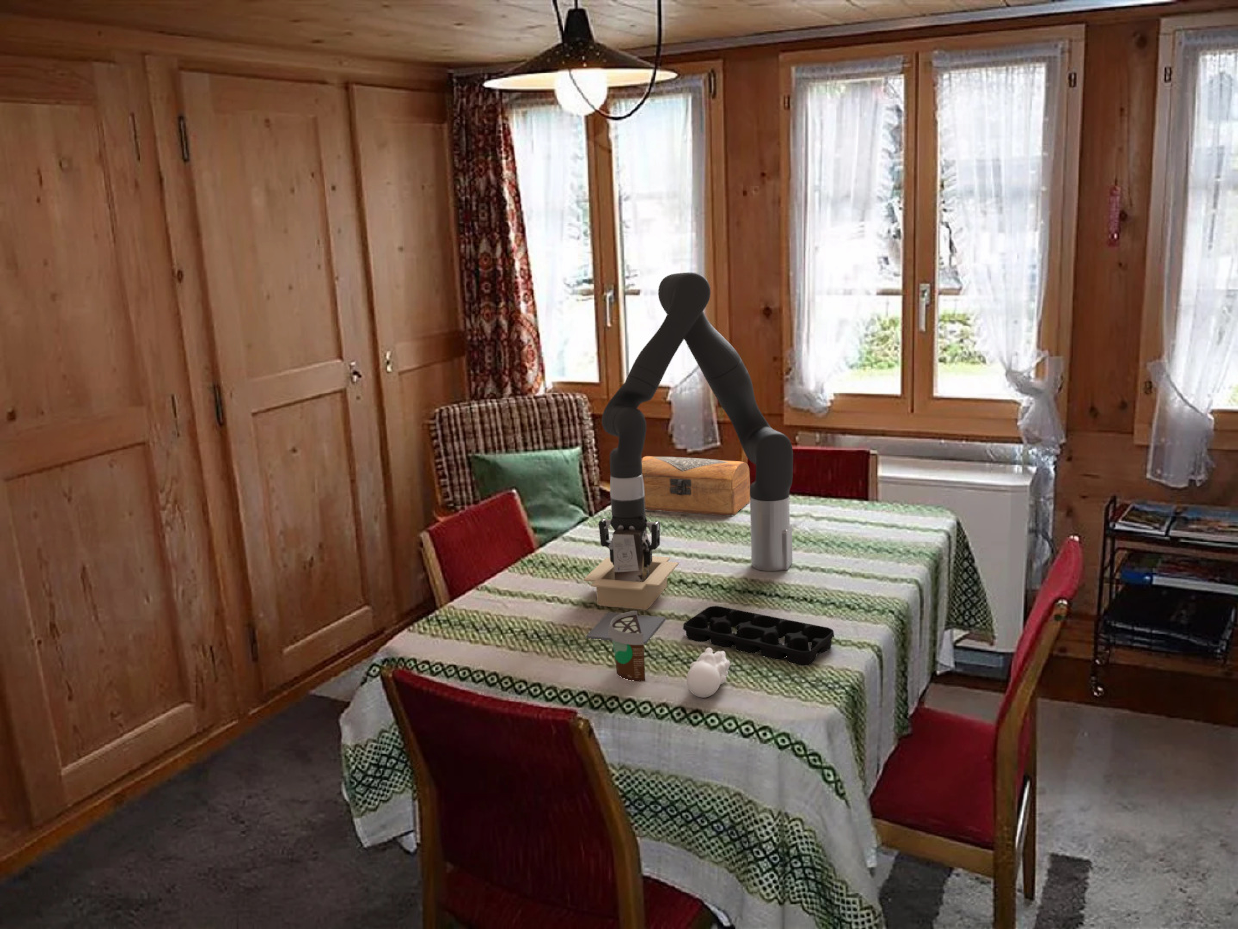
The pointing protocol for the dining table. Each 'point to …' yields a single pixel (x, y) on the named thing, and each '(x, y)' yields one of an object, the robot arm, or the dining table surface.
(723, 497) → the wooden box
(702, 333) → the robot arm
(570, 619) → the dining table surface
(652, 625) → the rubber mat
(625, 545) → the coffee box
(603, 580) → the carton
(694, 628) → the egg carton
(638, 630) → the food container
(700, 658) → the figurine
